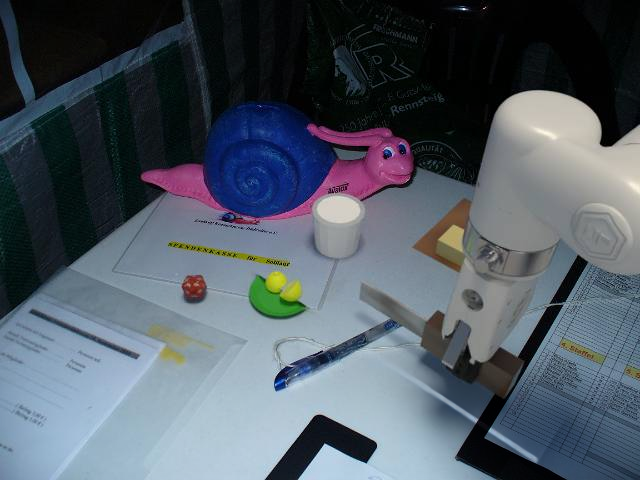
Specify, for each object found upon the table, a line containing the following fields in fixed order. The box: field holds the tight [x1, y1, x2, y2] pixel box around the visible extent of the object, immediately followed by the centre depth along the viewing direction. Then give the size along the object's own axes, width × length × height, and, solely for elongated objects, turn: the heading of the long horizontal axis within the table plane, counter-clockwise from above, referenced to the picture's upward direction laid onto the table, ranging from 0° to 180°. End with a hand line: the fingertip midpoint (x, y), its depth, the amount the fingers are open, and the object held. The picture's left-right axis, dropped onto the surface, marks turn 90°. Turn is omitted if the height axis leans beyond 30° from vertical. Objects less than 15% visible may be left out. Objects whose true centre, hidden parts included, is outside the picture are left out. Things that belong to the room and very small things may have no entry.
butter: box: [435, 225, 466, 267], centre depth 78 cm, size 6×4×2 cm, turn 50°
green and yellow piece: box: [248, 270, 308, 317], centre depth 73 cm, size 8×8×3 cm
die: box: [180, 274, 208, 300], centre depth 73 cm, size 3×3×3 cm
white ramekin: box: [311, 192, 366, 260], centre depth 78 cm, size 7×7×7 cm
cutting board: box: [411, 197, 472, 273], centre depth 81 cm, size 12×14×1 cm
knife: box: [359, 279, 525, 400], centre depth 63 cm, size 19×2×4 cm, turn 50°
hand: (467, 364), depth 63 cm, fingers closed on knife, 2 cm apart
